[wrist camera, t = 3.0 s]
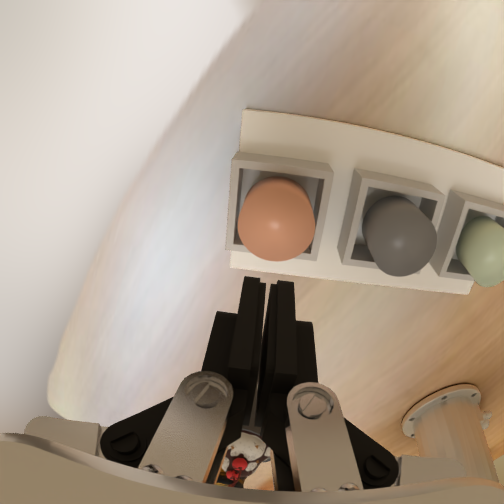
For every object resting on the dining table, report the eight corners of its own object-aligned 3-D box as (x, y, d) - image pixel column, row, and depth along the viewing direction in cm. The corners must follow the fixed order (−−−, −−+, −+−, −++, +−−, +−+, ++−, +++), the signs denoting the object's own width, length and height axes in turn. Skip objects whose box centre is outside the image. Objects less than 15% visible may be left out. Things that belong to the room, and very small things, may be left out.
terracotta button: (316, 181, 20) (321, 196, 17) (305, 243, 22) (308, 265, 19) (246, 172, 20) (240, 185, 17) (240, 235, 22) (234, 256, 19)
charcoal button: (427, 201, 19) (445, 218, 17) (410, 257, 22) (423, 279, 19) (370, 190, 20) (382, 206, 17) (355, 249, 22) (364, 272, 19)
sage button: (505, 221, 19) (525, 238, 17) (486, 269, 21) (503, 289, 19) (466, 210, 19) (486, 228, 17) (448, 263, 21) (464, 284, 19)
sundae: (251, 335, 31) (230, 478, 17) (297, 367, 32) (296, 499, 19) (209, 364, 33) (179, 489, 20) (255, 392, 35) (241, 510, 22)
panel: (503, 167, 20) (530, 182, 17) (462, 285, 26) (479, 311, 22) (243, 108, 21) (235, 112, 17) (231, 257, 27) (223, 285, 23)
